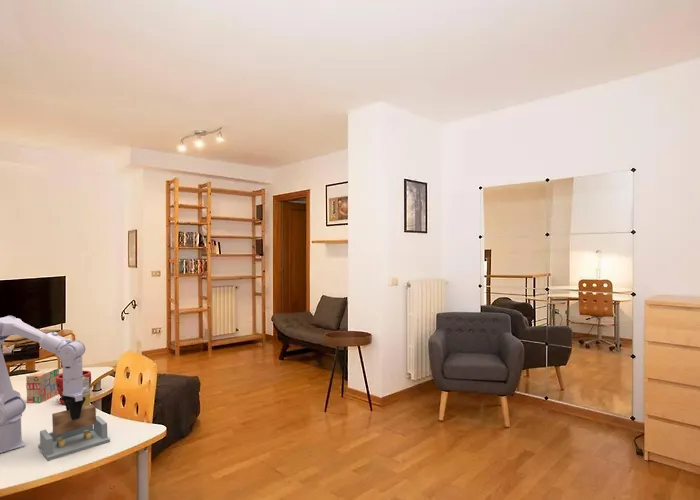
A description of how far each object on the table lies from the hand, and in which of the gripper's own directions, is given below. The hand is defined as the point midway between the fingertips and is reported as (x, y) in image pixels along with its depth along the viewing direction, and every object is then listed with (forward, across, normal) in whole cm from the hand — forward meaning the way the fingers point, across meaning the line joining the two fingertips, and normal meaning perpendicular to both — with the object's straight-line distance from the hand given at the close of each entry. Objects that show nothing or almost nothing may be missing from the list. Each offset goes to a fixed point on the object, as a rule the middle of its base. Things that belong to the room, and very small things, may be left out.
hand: (73, 417), depth 149 cm
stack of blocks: (+10, +68, -7) cm, 69 cm away
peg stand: (+9, 0, 0) cm, 9 cm away
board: (+4, 0, 0) cm, 4 cm away
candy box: (+10, +31, -9) cm, 34 cm away
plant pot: (+10, +51, -12) cm, 53 cm away
